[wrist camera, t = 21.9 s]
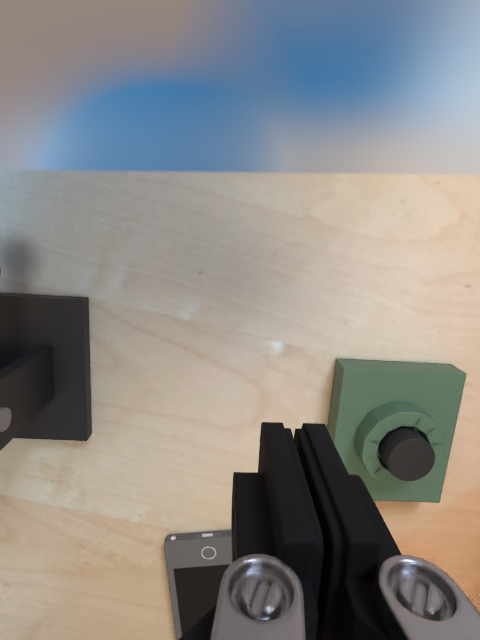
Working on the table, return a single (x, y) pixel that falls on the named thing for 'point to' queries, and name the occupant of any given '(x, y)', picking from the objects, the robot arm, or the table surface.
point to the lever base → (44, 368)
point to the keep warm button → (407, 454)
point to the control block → (394, 420)
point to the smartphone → (195, 574)
